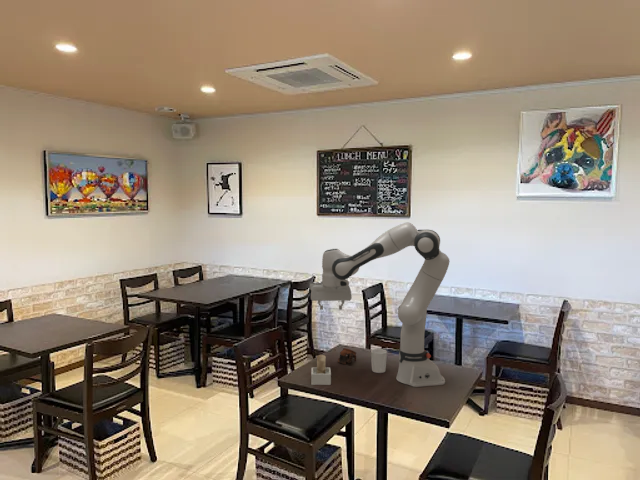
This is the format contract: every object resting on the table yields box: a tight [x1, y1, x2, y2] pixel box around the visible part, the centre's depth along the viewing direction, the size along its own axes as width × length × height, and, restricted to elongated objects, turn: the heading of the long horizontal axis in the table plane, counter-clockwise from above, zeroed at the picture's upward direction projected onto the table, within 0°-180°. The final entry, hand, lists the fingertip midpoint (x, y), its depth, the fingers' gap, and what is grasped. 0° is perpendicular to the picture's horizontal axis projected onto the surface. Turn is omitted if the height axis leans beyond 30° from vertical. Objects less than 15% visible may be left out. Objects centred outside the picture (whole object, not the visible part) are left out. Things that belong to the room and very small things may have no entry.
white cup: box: [370, 348, 388, 374], centre depth 237 cm, size 8×8×10 cm
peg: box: [316, 354, 327, 374], centre depth 222 cm, size 4×4×12 cm
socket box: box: [310, 367, 332, 386], centre depth 223 cm, size 9×9×5 cm
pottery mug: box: [337, 347, 357, 365], centre depth 249 cm, size 12×10×8 cm
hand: (330, 309), depth 234 cm, fingers open, 8 cm apart
